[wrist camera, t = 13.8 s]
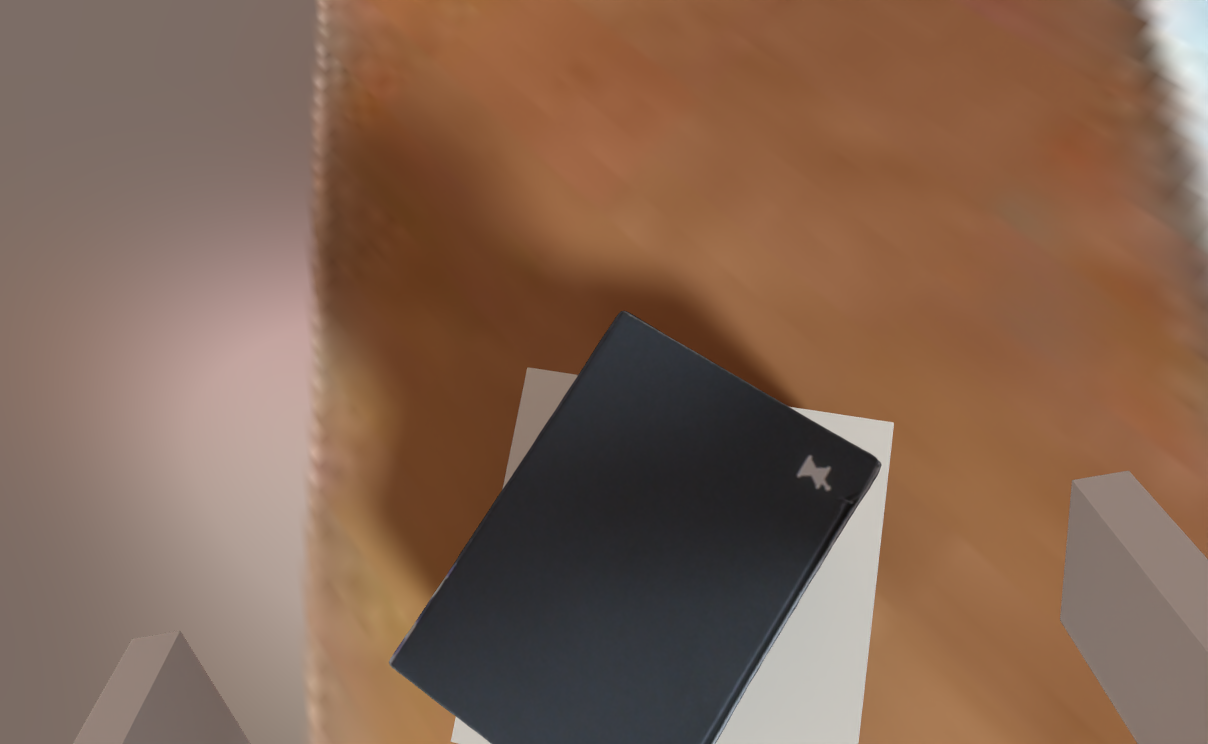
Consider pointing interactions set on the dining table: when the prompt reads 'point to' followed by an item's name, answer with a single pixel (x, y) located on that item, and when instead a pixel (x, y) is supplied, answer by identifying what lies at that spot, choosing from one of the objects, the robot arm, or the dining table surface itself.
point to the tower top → (817, 625)
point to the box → (636, 555)
